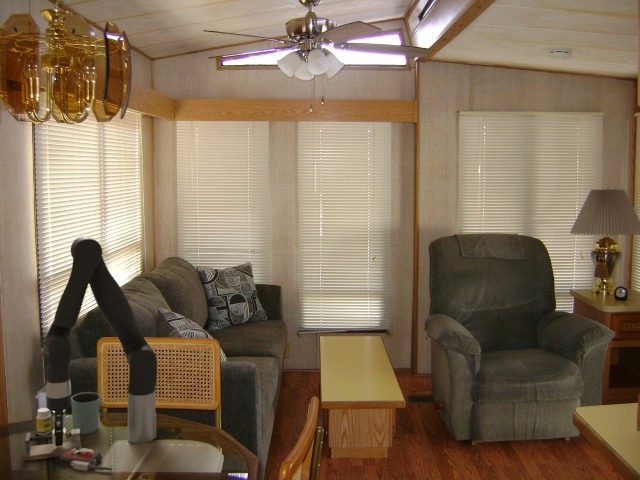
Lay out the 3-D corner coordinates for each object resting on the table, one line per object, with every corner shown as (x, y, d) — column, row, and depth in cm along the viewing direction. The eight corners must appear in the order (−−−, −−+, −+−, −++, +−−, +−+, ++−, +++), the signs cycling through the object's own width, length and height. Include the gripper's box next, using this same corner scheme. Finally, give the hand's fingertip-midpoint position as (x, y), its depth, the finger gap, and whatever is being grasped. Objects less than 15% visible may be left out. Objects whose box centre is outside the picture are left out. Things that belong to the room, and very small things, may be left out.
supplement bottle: (45, 436, 219) (45, 413, 218) (33, 434, 220) (33, 411, 218) (54, 430, 223) (53, 407, 222) (42, 428, 224) (41, 406, 223)
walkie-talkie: (51, 467, 198) (110, 475, 195) (50, 454, 197) (110, 461, 194) (66, 455, 206) (123, 462, 203) (66, 442, 206) (123, 449, 203)
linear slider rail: (80, 444, 213) (80, 426, 213) (80, 453, 207) (80, 434, 206) (25, 451, 207) (25, 432, 206) (24, 460, 201) (23, 441, 200)
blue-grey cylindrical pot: (80, 421, 231) (80, 390, 230) (106, 424, 230) (106, 393, 228) (65, 433, 221) (65, 401, 220) (92, 436, 220) (92, 403, 218)
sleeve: (65, 438, 210) (65, 428, 209) (65, 442, 206) (65, 432, 206) (52, 439, 208) (52, 429, 208) (52, 443, 205) (52, 434, 204)
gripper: (70, 399, 200) (71, 450, 202) (71, 384, 213) (71, 432, 215) (45, 402, 197) (46, 454, 199) (47, 386, 210) (47, 435, 213)
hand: (59, 442), depth 207 cm, fingers open, 3 cm apart
